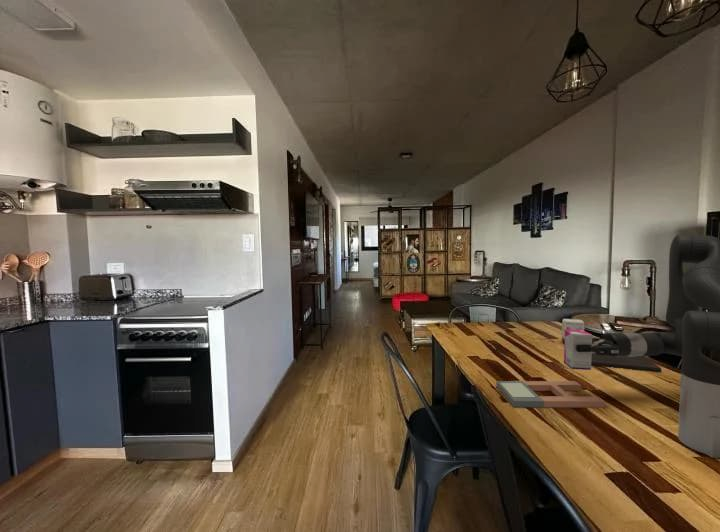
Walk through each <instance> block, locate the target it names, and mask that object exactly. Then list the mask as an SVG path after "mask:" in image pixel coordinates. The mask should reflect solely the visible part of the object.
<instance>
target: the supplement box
mask: <svg viewBox="0 0 720 532" xmlns="http://www.w3.org/2000/svg"><path fill="white" fill-rule="evenodd" d="M592 337H593V334H592V333H589V332H587V331H585V329H584V330H567V329H565V345H564V348H563V349H564V353H563V363H564V364H565V365H566V366H567V367H568V368H570V369H572V370H582V371H584V370H585V371H591V370H592V366H591V357H592V353H590V352H577V351H576V345H590V344H592Z"/></svg>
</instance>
